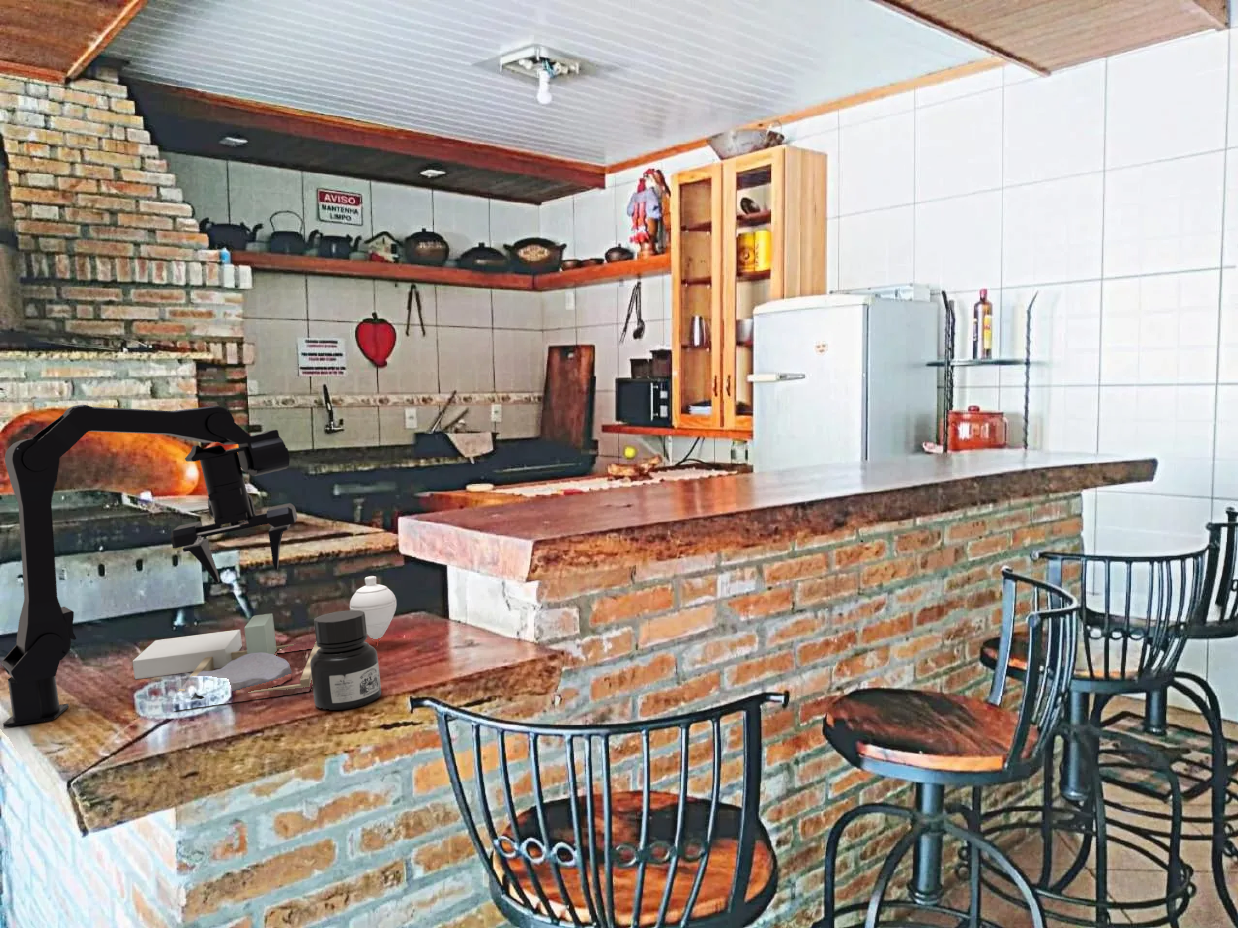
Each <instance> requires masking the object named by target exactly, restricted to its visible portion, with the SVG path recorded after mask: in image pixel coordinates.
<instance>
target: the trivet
mask: <svg viewBox="0 0 1238 928" xmlns="http://www.w3.org/2000/svg"><path fill="white" fill-rule="evenodd" d="M242 646H243V642H242V635H241V629H235V630H234V629H233V630H227V631H217V632H210V633H203V634H202V633H201V634H195V635H187V636H179V637H172V638H164V639H163V638H162V639H155V640H154V641H153V642H152V643H151V644H150V645H148V647H146V648H145V649H144V650H143V651H142V652H141V653H140V654H139V655H138V656H137V657H135V658H134V659H133V660H132V667H133V675H134V680H140V679H146V678H147V679H149V678H154V677H163V676H168V675H169V676H170V675H178V674H185V673H191V672H192V673H193V672H194V670H195V669H196V668H197V667H198V666H199V664H200V663H201V662H202V661H203V660H204V658H207V657H213V662H214V670H216V669H221V668H223V667H224V666H226V665H227V664H228V663H229V662H231V661H233V660H232V656H231V653H232V652H236V651H241V650H240V649H241V648H242Z"/></svg>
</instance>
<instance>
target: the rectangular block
mask: <svg viewBox="0 0 1238 928" xmlns="http://www.w3.org/2000/svg"><path fill="white" fill-rule="evenodd" d="M275 632H276V631H275V623H274V615H273V613H265V614H257V615H253V616H252V617H251V618H250V620H249V621H248V622H247V624H246V625H245V626H244V637H245V645H246V650H247V654H250V653H258V652H263V653H268V654H275V652H276V651H277V649H276V646H277V642H276V635H275Z"/></svg>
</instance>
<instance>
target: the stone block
mask: <svg viewBox="0 0 1238 928" xmlns="http://www.w3.org/2000/svg"><path fill="white" fill-rule="evenodd" d="M291 673H292V668H291V666H290V663H289V662H288V660H286V659H285V658H283V657H280V656H278V655H277V656H276V655H274V654H268V653H263V652H258V653H250V654H246V655H244V656H241V657H239V658H238V659H236V660H232V661H231V662H229V663H228V664H227V665H226V666H224V667H223V668H216V669H214V670H213V671H202V672H200V673H199V674H198V675H197V676H212V677H217V678H227V679H229V682H230V685H231V688H232V691H236V690H240V689H242V688H246V687H250V686H254V685H258V684H262V683H266V682H269V681H273V680H275V679H278V678H281V677H284V676H285V675H288V674H291ZM292 674H293V673H292Z"/></svg>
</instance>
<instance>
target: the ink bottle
mask: <svg viewBox="0 0 1238 928" xmlns="http://www.w3.org/2000/svg"><path fill="white" fill-rule="evenodd" d="M313 622H314V623H313V624H314V633H315V641H316V642H317V643H316V644H317V646H318V647H320V649H318V650H317V652H316V654H315V655H314V656H313V657H312V658H311V661H310V666H311V675H312V684H313V686H312V691H313V699H314V700H313V701H314V702H313V703H314V704H315V706H316V707H317V708H318V707H319V709H321V708H323V709H322V710H326V709H329V710H330V711H342V710H344V711H345V710H350V709H355V708H358V707H361V706H362V707H363V706H364V705H367V704H370V703H372V702H374V701H376V700H378V698H380V697H381V695H382V686H381V675H380V667H379V658H378V651H377V649H375V647H374V646H373V645H370V644H369V642H367V641H366V640H368V635H367V629H366V620H365V613H364V611H360V610H350V609H349V610H339V611H333V612H329V613H324V614H322V615H318V616H317V617H315V618H314V619H313Z"/></svg>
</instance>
